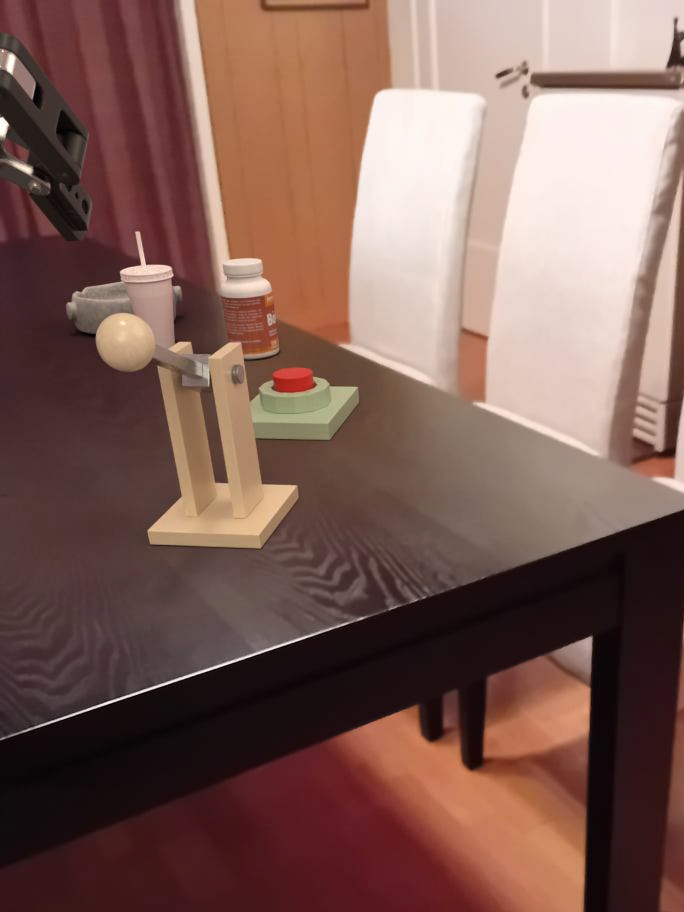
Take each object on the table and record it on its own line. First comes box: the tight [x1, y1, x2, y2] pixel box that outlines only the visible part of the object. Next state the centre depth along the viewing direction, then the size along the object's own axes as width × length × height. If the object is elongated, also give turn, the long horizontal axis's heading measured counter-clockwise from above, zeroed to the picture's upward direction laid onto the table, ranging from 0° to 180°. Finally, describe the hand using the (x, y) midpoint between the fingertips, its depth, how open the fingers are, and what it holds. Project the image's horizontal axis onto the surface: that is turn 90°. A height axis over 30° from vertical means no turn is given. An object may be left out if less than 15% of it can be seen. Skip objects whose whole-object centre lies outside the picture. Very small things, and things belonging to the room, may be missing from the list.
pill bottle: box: [219, 257, 280, 360], centre depth 123 cm, size 6×6×11 cm
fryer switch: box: [146, 341, 300, 549], centre depth 78 cm, size 10×9×14 cm
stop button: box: [272, 366, 314, 393], centre depth 102 cm, size 4×4×2 cm
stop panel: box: [250, 376, 360, 441], centre depth 103 cm, size 12×10×4 cm
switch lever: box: [95, 313, 214, 393], centre depth 70 cm, size 15×4×4 cm, turn 172°
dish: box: [65, 280, 183, 335], centre depth 140 cm, size 14×14×5 cm
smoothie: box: [119, 230, 176, 349], centre depth 127 cm, size 6×6×14 cm
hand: (0, 227), depth 51 cm, fingers open, 8 cm apart
